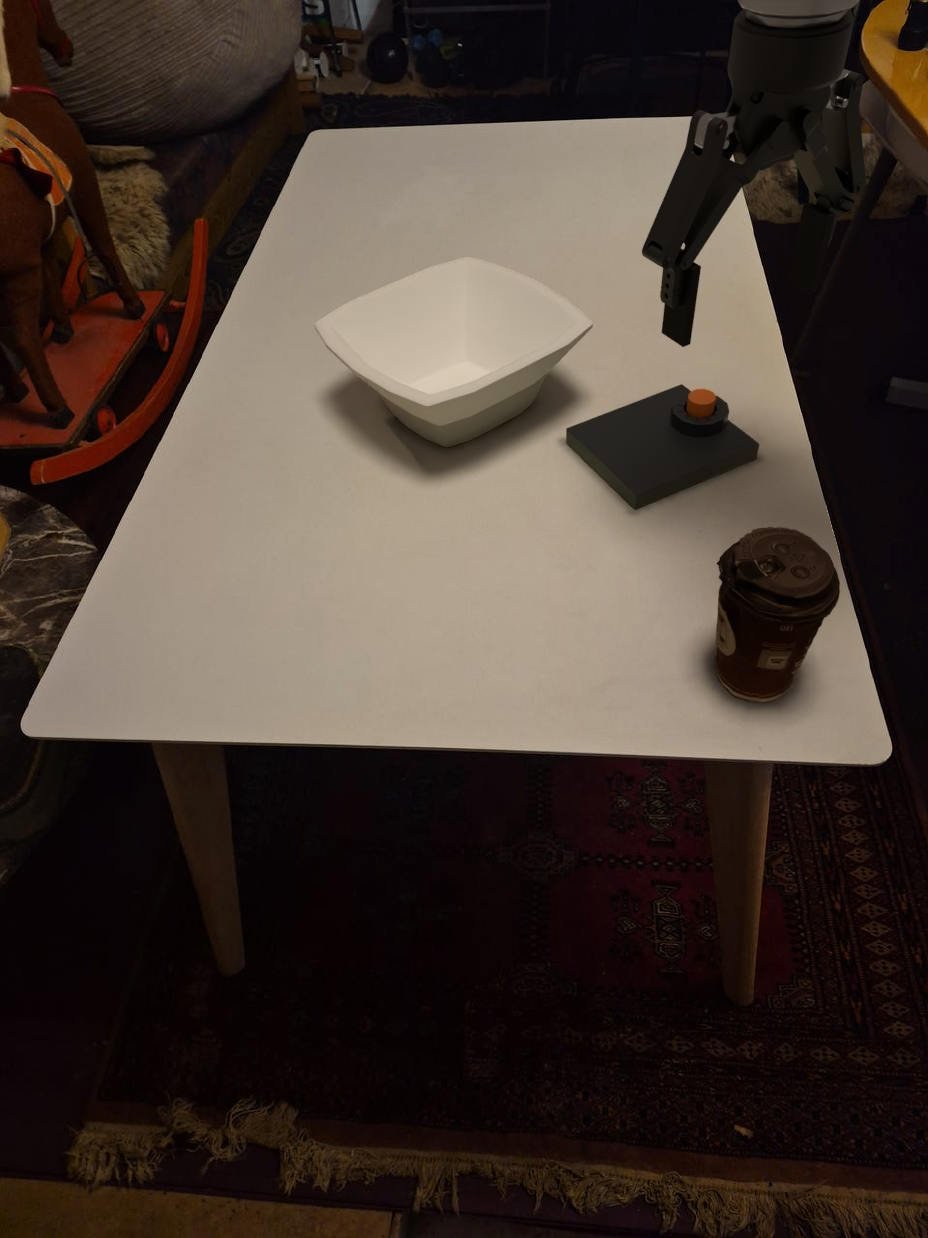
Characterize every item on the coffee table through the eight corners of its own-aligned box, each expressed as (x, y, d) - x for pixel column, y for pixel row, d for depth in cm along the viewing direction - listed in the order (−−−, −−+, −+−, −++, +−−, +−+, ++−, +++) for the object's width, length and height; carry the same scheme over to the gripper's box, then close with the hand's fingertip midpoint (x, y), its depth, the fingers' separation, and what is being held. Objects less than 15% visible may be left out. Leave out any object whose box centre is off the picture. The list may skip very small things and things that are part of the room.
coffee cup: (687, 695, 69) (708, 584, 60) (708, 622, 74) (731, 508, 65) (799, 725, 67) (840, 613, 57) (813, 647, 72) (853, 532, 62)
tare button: (702, 399, 91) (704, 385, 89) (719, 412, 89) (721, 398, 88) (680, 408, 90) (682, 394, 89) (697, 421, 88) (699, 407, 87)
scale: (681, 397, 97) (684, 370, 94) (757, 458, 89) (764, 430, 86) (565, 442, 93) (566, 415, 90) (634, 509, 85) (637, 482, 82)
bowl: (610, 402, 97) (614, 318, 89) (431, 501, 88) (419, 417, 80) (479, 324, 111) (473, 246, 103) (313, 402, 102) (293, 323, 94)
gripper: (888, -41, 61) (818, 249, 77) (603, 40, 54) (591, 341, 70) (978, -22, 57) (883, 282, 73) (681, 69, 50) (648, 383, 66)
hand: (740, 312), depth 72 cm, fingers open, 13 cm apart
